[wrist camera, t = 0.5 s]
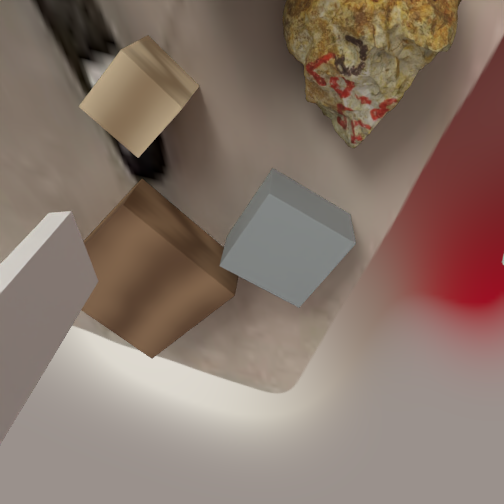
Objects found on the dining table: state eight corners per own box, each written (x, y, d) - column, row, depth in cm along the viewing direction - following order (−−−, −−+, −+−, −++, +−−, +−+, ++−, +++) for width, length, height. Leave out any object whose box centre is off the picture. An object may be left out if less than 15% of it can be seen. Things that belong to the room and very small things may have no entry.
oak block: (110, 84, 35) (78, 106, 30) (148, 35, 33) (121, 49, 28) (160, 130, 37) (138, 158, 32) (199, 85, 35) (182, 108, 30)
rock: (357, 66, 37) (366, 161, 33) (259, 32, 35) (252, 129, 30) (460, -84, 27) (492, 22, 23) (331, -146, 25) (339, -42, 20)
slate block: (227, 235, 42) (219, 265, 38) (272, 167, 38) (269, 193, 34) (299, 274, 44) (299, 307, 39) (350, 213, 40) (355, 243, 35)
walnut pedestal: (70, 255, 45) (46, 286, 40) (141, 178, 39) (123, 204, 35) (164, 324, 49) (151, 358, 44) (241, 262, 43) (234, 295, 39)
